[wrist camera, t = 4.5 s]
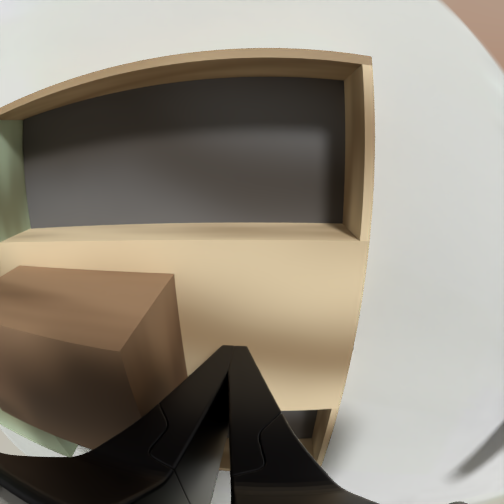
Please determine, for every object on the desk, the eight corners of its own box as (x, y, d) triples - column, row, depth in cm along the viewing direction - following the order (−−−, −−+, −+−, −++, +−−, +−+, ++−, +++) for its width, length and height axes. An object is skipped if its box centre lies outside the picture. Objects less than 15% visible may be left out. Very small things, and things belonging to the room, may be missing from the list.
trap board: (315, 436, 15) (323, 500, 10) (17, 388, 16) (-11, 423, 12) (349, 75, 9) (397, 34, 5) (-46, 148, 10) (-98, 158, 6)
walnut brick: (188, 382, 10) (162, 467, 7) (48, 356, 11) (2, 410, 7) (174, 273, 9) (119, 351, 5) (19, 265, 9) (-48, 308, 6)
